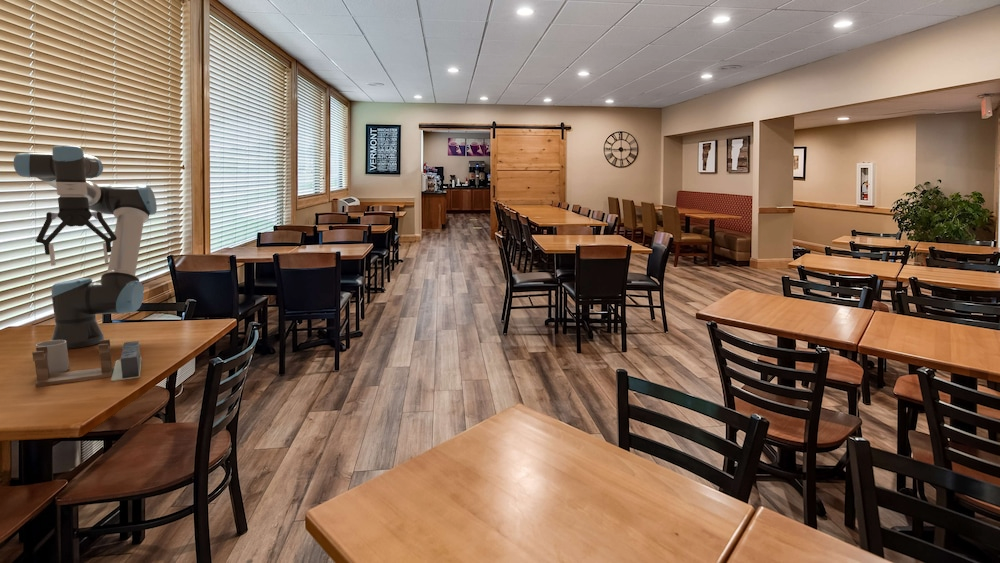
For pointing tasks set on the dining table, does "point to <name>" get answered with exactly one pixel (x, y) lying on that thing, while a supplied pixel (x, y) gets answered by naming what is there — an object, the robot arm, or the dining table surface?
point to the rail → (130, 359)
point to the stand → (72, 376)
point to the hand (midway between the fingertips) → (80, 263)
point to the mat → (118, 371)
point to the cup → (56, 355)
